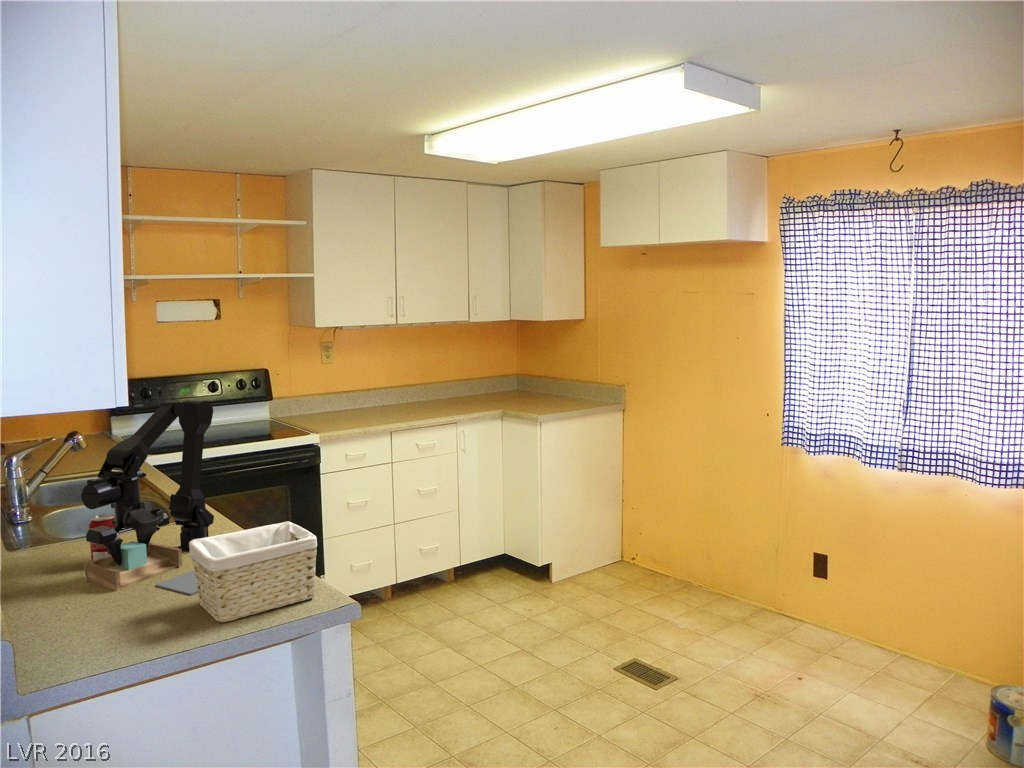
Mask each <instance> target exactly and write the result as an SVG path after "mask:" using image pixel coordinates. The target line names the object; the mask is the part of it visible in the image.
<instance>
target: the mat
mask: <svg viewBox="0 0 1024 768" xmlns="http://www.w3.org/2000/svg"><path fill="white" fill-rule="evenodd" d="M154 585H155V587H157V588H162V589H165V590H169V591H172V592H175V593H180V594H184V595H188V596H192V595H195V594H197V593H198V590H197V588H198V587H197V583H196V577H195V573H194V569H193V570H190V571H188V572H185V573H182V574H180V575H178V576H174V577H171V578H169V579H167V580H164V581H160V582H159V583H156V584H154Z"/></svg>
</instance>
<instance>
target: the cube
mask: <svg viewBox="0 0 1024 768" xmlns="http://www.w3.org/2000/svg"><path fill="white" fill-rule="evenodd" d="M121 559H122V561H121V565H120V566H118V565H117V564H116V562H115V567H118V568H122V569H126V570H131V569H134V568H137V567H140V566H143V565H145V564H147V553H146V544H143V543H139V542H137V541H135V540H134V541H133V540H132V541H128V542H126V543H121Z"/></svg>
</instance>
